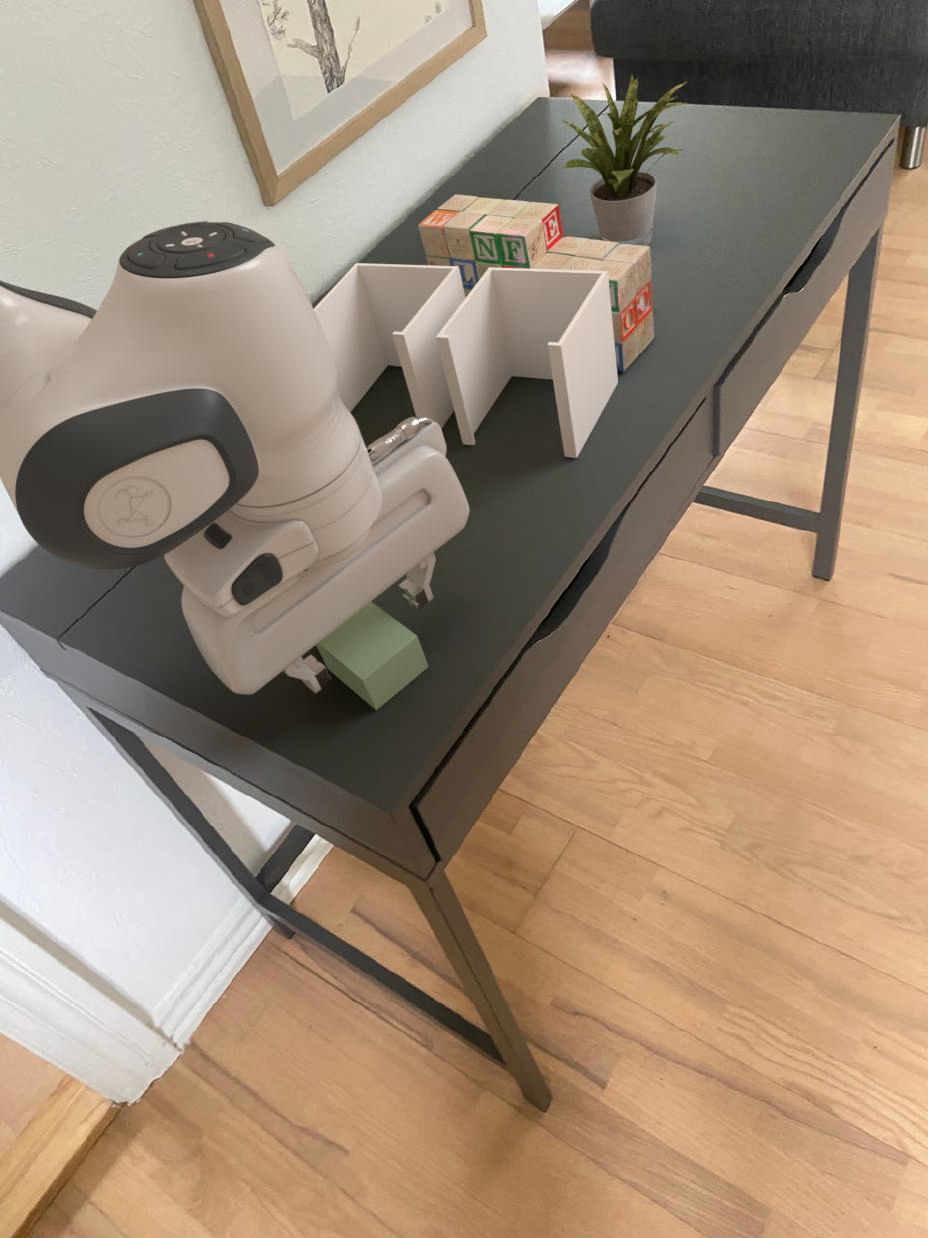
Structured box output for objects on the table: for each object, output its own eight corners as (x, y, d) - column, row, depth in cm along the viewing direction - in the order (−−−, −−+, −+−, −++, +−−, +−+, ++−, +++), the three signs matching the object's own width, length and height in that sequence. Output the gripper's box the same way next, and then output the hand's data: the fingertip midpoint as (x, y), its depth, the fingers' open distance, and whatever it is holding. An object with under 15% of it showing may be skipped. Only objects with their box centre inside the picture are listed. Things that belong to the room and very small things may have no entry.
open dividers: (618, 382, 84) (607, 271, 76) (576, 458, 78) (560, 345, 70) (386, 362, 95) (356, 262, 87) (334, 428, 89) (296, 327, 81)
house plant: (709, 265, 94) (709, 95, 83) (575, 290, 96) (556, 128, 85) (687, 205, 104) (684, 45, 92) (566, 229, 106) (547, 75, 94)
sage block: (376, 710, 64) (362, 680, 62) (309, 653, 69) (294, 623, 67) (428, 667, 66) (417, 635, 63) (360, 614, 71) (346, 583, 68)
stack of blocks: (656, 338, 88) (649, 212, 79) (624, 374, 85) (613, 248, 76) (478, 305, 99) (454, 191, 90) (444, 336, 96) (415, 221, 87)
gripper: (401, 387, 60) (448, 538, 70) (139, 569, 53) (232, 708, 63) (465, 418, 56) (505, 573, 66) (190, 619, 49) (281, 758, 59)
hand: (370, 641), depth 65 cm, fingers open, 8 cm apart
